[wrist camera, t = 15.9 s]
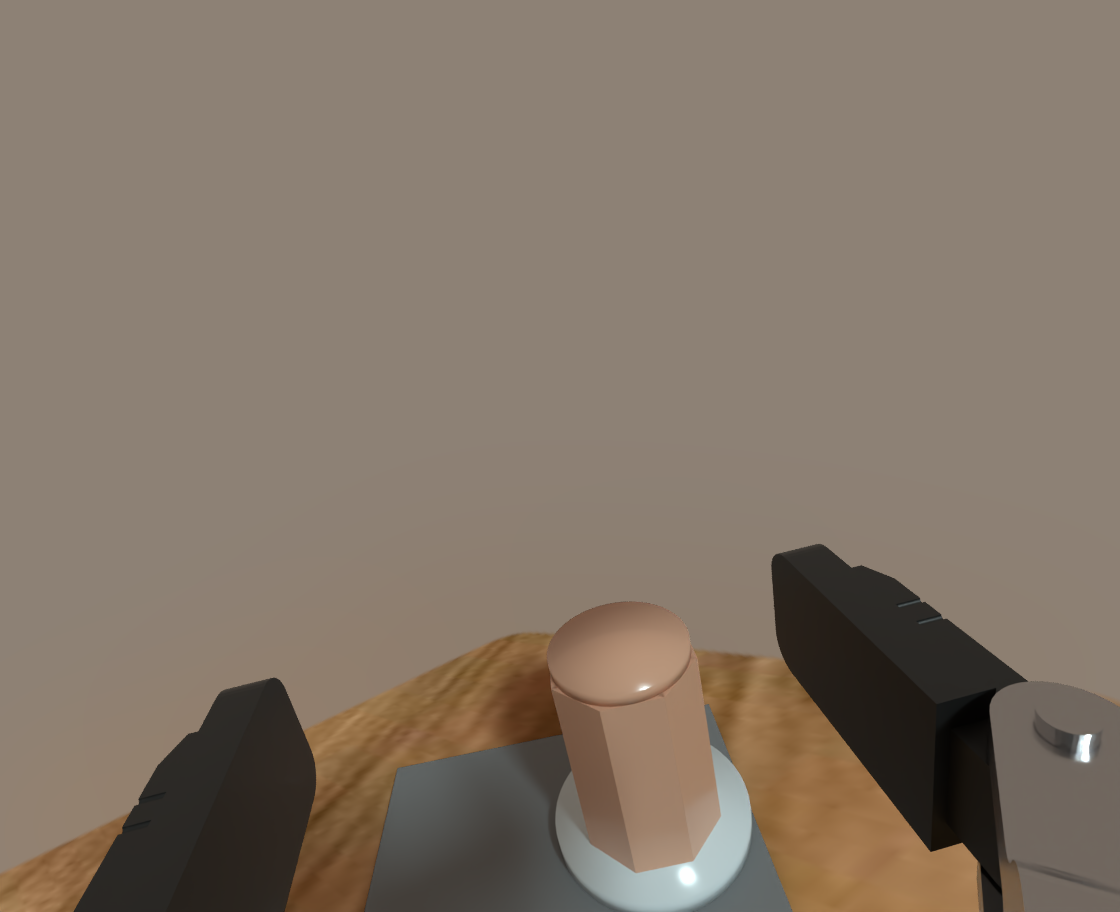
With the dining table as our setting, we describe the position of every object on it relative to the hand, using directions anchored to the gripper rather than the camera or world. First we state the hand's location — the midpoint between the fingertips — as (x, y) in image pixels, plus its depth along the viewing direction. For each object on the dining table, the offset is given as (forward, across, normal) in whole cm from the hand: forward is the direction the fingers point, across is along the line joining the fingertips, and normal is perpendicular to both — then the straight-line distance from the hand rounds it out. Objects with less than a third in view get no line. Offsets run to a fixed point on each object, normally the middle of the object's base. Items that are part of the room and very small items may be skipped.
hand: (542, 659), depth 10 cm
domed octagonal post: (+15, -3, +22) cm, 27 cm away
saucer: (+15, -3, +23) cm, 28 cm away
